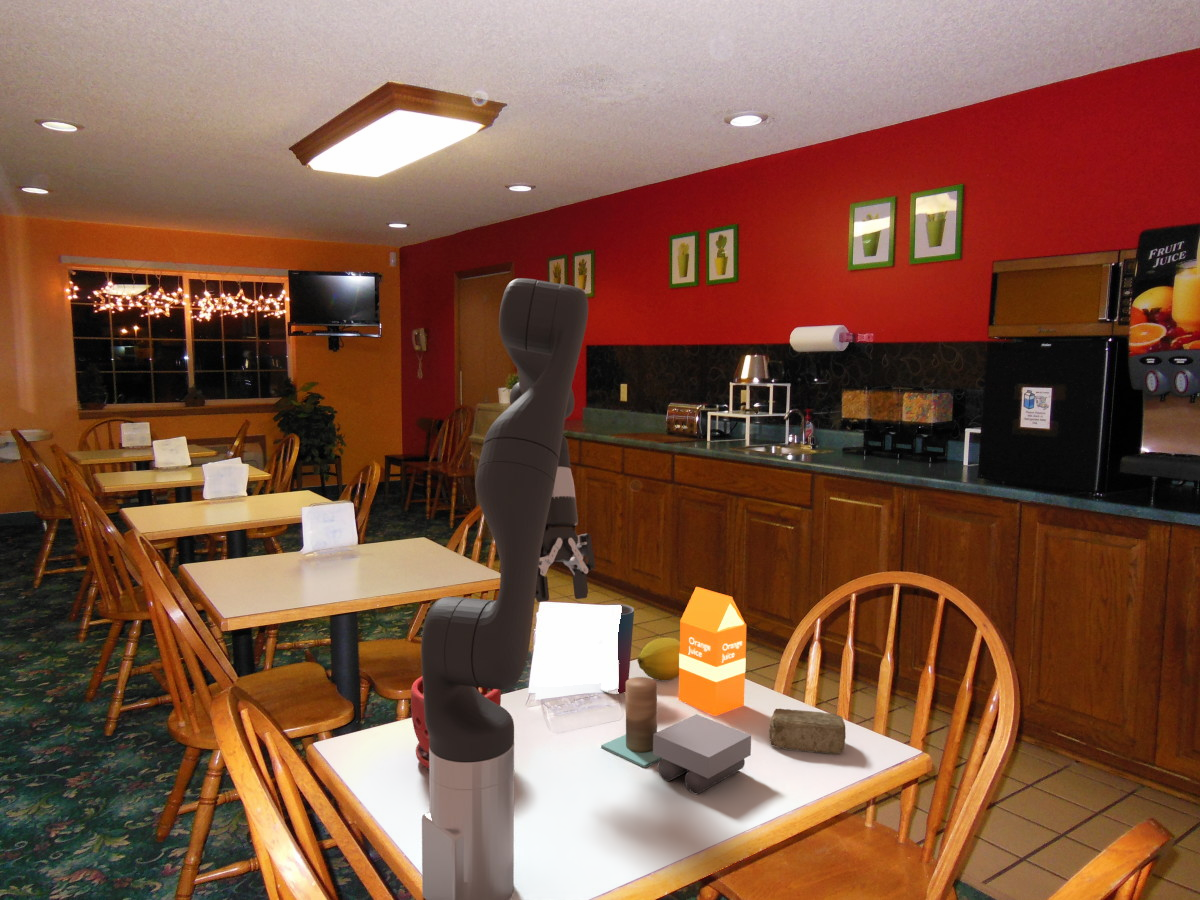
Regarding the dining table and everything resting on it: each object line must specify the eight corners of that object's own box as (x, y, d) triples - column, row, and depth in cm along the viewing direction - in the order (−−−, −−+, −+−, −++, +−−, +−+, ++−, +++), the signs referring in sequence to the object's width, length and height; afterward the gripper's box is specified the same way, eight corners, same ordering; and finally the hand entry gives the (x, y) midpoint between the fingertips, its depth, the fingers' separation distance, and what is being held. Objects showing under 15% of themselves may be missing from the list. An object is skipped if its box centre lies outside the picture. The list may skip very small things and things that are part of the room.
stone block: (846, 758, 126) (847, 726, 125) (769, 751, 128) (770, 720, 128) (842, 741, 132) (843, 711, 131) (768, 735, 134) (769, 705, 133)
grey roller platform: (707, 799, 113) (708, 757, 112) (652, 773, 120) (653, 733, 119) (750, 774, 120) (751, 735, 119) (695, 751, 127) (696, 714, 126)
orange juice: (707, 689, 152) (710, 583, 150) (744, 705, 145) (748, 593, 143) (677, 700, 147) (680, 590, 145) (714, 716, 140) (717, 601, 138)
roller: (643, 755, 124) (642, 691, 123) (619, 745, 128) (619, 682, 127) (663, 745, 128) (663, 682, 127) (640, 735, 131) (639, 674, 130)
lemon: (678, 669, 162) (679, 629, 161) (697, 683, 155) (698, 641, 154) (627, 676, 158) (628, 635, 157) (645, 691, 151) (646, 648, 150)
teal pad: (644, 767, 122) (644, 765, 121) (601, 747, 128) (601, 745, 128) (683, 748, 128) (683, 746, 128) (640, 730, 134) (640, 727, 134)
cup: (626, 698, 147) (628, 616, 146) (590, 693, 149) (591, 612, 148) (637, 685, 154) (638, 606, 152) (602, 680, 156) (603, 602, 154)
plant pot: (392, 769, 120) (392, 689, 119) (447, 734, 132) (447, 661, 131) (467, 790, 114) (467, 706, 113) (517, 751, 126) (517, 675, 125)
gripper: (535, 492, 126) (546, 600, 122) (598, 495, 136) (610, 595, 133) (503, 501, 130) (512, 605, 127) (566, 504, 141) (577, 600, 138)
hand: (562, 600), depth 130 cm, fingers open, 8 cm apart
